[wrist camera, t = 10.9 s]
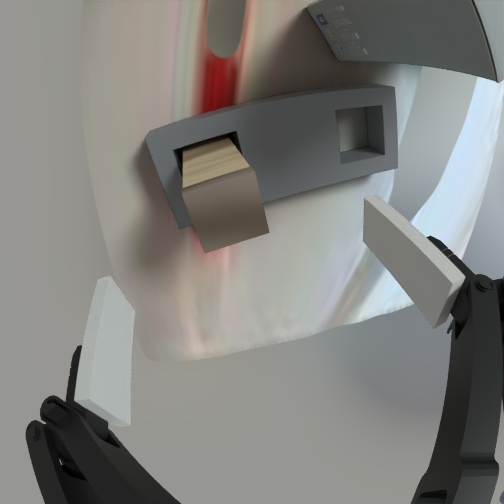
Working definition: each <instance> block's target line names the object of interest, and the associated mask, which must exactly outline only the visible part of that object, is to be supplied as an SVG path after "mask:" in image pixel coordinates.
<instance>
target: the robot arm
mask: <svg viewBox="0 0 504 504" xmlns="http://www.w3.org/2000/svg"><path fill="white" fill-rule="evenodd" d="M363 242H364V243H365V244H366V245H367V246H368V247H369V248H370V250H371V251H372V252H373V253H374V254H375V255H376V257H377V258H378V259H379V260H380V261H381V262H382V264H383V265H384V266H385V267H386V268H387V270H388V271H389V272H390V273H391V274H392V276H393V277H394V278H395V279H396V281H397V282H398V283H399V284H400V286H401V287H402V288H403V289H404V291H405V292H406V293H407V294H408V296H409V297H410V298H411V299H412V301H413V302H414V303H415V305H416V306H417V307H418V309H419V310H420V311H421V312H422V314H423V315H424V316H425V318H426V319H427V321H428V322H429V323H430V325H431V326H432V328H433V329H434V328H436V327H438V326H439V325H441V324H443V323H444V322H446V320H447V318H448V316H449V314H450V313H451V315H452V316H453V317H454V318H453V320H452V322H451V324H450V326H449V328H448V331H447V333H448V334H449V332H450V330H451V329H452V335H451V351H450V363H449V373H448V380H447V388H446V394H445V400H444V406H443V412H442V417H441V421H440V426H439V431H438V435H437V439H436V443H435V447H434V450H433V454H432V458H431V461H430V464H429V467H428V470H427V471H426V473H425V474H424V475H423V477H422V478H421V480H420V482H419V484H418V487H417V489H416V492H415V494H414V497H413V500H412V502H411V504H490V503H491V499H492V496H493V493H494V490H495V486H496V482H497V478H498V473H499V465H498V463H497V462H496V460H495V458H494V454H495V448H496V442H497V436H498V430H499V422H500V413H501V400H503V410H504V277H503V278H502V279H497V280H492V279H490V278H489V277H487V276H485V275H482V274H477V275H475V274H474V273H473V272H472V271H471V270H470V269H469V268H468V267H467V266H466V265H465V264H464V263H463V262H462V261H461V260H460V259H459V258H458V257H457V256H456V255H454V254H453V252H452V251H451V250H450V249H448V247H447V246H446V245H444V244H443V243H442V242H441V241H440V240H438V239H436V238H434V237H432V236H429V237H425V236H424V235H423V234H422V233H421V232H420V231H419V230H418V229H416V228H415V227H414V226H413V225H412V224H411V223H410V222H409V221H407V220H406V219H405V218H404V217H403V216H402V215H400V214H399V213H398V212H397V211H396V210H395V209H393V208H392V207H391V206H390V205H389V204H387V203H386V202H385V201H384V200H382V199H381V198H380V197H379V196H378V195H372V196H368V197H365V198H364V226H363ZM134 317H135V311H134V309H133V308H132V307H131V305H130V304H129V302H128V301H127V300H126V298H125V297H124V295H123V294H122V292H121V291H120V289H119V288H118V286H117V285H116V283H115V282H114V280H113V279H112V277H111V276H107V277H104V278H101V279H98V282H97V285H96V289H95V292H94V296H93V300H92V304H91V308H90V312H89V317H88V321H87V325H86V331H85V335H84V340H83V345H81V346H77V349H76V350H75V352H74V354H73V357H72V362H71V368H70V376H69V380H68V388H67V394H66V402H64V401H63V400H61V399H60V398H59V397H57V396H54V395H53V396H49V397H48V398H46V399H45V400H44V402H43V403H42V406H41V409H40V416H41V420H42V421H44V422H46V424H42V423H41V422H39V421H37V420H34V421H31V423H30V424H29V425H28V427H27V429H26V441H27V445H28V449H29V454H30V458H31V461H32V465H33V469H34V472H35V475H36V479H37V482H38V485H39V488H40V490H41V494H42V496H43V499H44V502H45V504H181V503H180V502H179V501H177V500H176V499H175V498H174V497H173V496H172V495H171V494H170V493H168V492H167V491H166V490H165V489H164V488H163V487H162V486H161V485H160V484H159V483H158V482H157V481H156V480H155V479H154V478H153V477H152V476H151V475H150V474H149V473H148V472H147V471H146V470H145V469H144V468H143V467H142V466H141V465H140V464H139V463H138V461H137V460H136V459H135V458H134V457H133V456H132V455H131V454H130V453H129V451H128V450H127V449H126V448H125V447H124V446H123V444H122V443H121V442H120V441H119V440H118V438H117V437H116V436H115V435H114V433H113V432H112V431H111V430H109V429H108V423H110V424H112V425H114V426H115V427H122V426H131V412H130V393H131V387H130V386H131V360H132V342H133V329H134ZM59 460H61V463H62V465H61V464H60V461H59ZM500 502H501V503H504V491H503V493H502V494H501V496H500Z"/></svg>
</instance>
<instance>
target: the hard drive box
mask: <svg viewBox="0 0 504 504" xmlns="http://www.w3.org/2000/svg"><path fill="white" fill-rule="evenodd" d="M307 7H308V8H307V10H308V11H309V13H310V14H311V16H312V18H313V19H314V21H315V22H316V24H317V25H318V27H319V29H320V30H321V32H322V34H323V35H324V37H325V39H326V40H327V42H328V44H329V45H330V47H331V49H332V51H333V53H334V54H335V56H336V58H337V59H338V61H368V62H389V63H401V64H411V65H420V66H428V67H435V68H441V69H447V70H452V71H457V72H462V73H466V74H471V75H474V76H478V77H482V78H486V79H490V80H493V81H496V82H497V83H499V82H501V81H502V80H504V0H318V1H316V2H313V3H311V4H309V5H308V6H307Z"/></svg>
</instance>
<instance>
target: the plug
mask: <svg viewBox="0 0 504 504" xmlns="http://www.w3.org/2000/svg"><path fill="white" fill-rule="evenodd" d="M182 197H183V199H184V202H185V204H186V207H187V210H188V212H189V215H190V217H191V220H192V222H193V225H194V227H195V230H196V232H197V235H198V237H199V240H200V242H201V245H202V247H203V250H204V252H205V253H208V252H211V251H214V250H217V249H220V248H223V247H226V246H229V245H232V244H235V243H239V242H242V241H245V240H248V239H251V238H254V237H257V236H260V235H263V234H267V233H269V229H268V225H267V220H266V216H265V212H264V208H263V203H262V199H261V195H260V191H259V187H258V182H257V178H256V174H255V171H254V169H253V168H252V167H251V166H249V164H248V163H247V162H246V160H245V159H244V157H243V156H242V155H241V153H240V152H239V151H238V149H237V148H236V147H235V145H234V144H233V143H232V141H231V140H230V139H229V137H228V136H227V135H226V134H223V135H219V136H216V137H212V138H209V139H205V140H202V141H199V142H196V143H192V144H189V145H186V146H184V147H183V188H182Z"/></svg>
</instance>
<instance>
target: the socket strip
mask: <svg viewBox="0 0 504 504" xmlns="http://www.w3.org/2000/svg"><path fill="white" fill-rule="evenodd" d="M358 107H365V108H366V119H367V132H368V147H365V148H360V149H355V150H350V151H345V152H340V148H339V138H338V129H337V121H336V113H335V110H342V109H349V108H358ZM230 132H233V136H234V140H235V144H236V148H237V149H238V151H239V152H240V153H241V155H242V156H243V157H244V159H245V160H246V162H247V163H248V164H249V166H251V167H252V168H253V169H254V171H255V174H256V178H257V182H258V187H259V191H260V195H261V199H262V203H265V202H268V201H272V200H275V199H279V198H282V197H286V196H290V195H293V194H297V193H300V192H304V191H308V190H311V189H315V188H319V187H323V186H326V185H330V184H334V183H338V182H342V181H346V180H350V179H354V178H358V177H362V176H366V175H370V174H374V173H379V172H383V171H387V170H391V169H396V168H398V138H397V113H396V98H395V87H392V86H386V85H380V84H366V85H352V86H341V87H331V88H323V89H315V90H308V91H301V92H295V93H289V94H283V95H278V96H272V97H267V98H262V99H258V100H253V101H249V102H244V103H240V104H236V105H232V106H228V107H224V108H220V109H217V110H213V111H209V112H206V113H202V114H199V115H196V116H193V117H189V118H186V119H183V120H180V121H177V122H174V123H171V124H168V125H165V126H162V127H160V128H157V129H154V130H151V131H149V133H148V134H147V135H146V137H145V139H146V142H147V145H148V148H149V151H150V154H151V156H152V159H153V162H154V165H155V167H156V170H157V173H158V175H159V178H160V181H161V183H162V186H163V189H164V191H165V194H166V196H167V199H168V201H169V204H170V207H171V209H172V212H173V214H174V217H175V219H176V221H177V224H178V226H179V229H181V228H184V227H187V226H190V225H193V222H192V220H191V217H190V215H189V212H188V210H187V207H186V204H185V202H184V199H183V197H182V188H183V168H182V165H181V162H180V159H179V156H178V153H177V150H176V149H177V148H180V147H183V146H186V145H189V144H192V143H196V142H199V141H202V140H205V139H209V138H212V137H216V136H219V135H223V134H226V133H230Z"/></svg>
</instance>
